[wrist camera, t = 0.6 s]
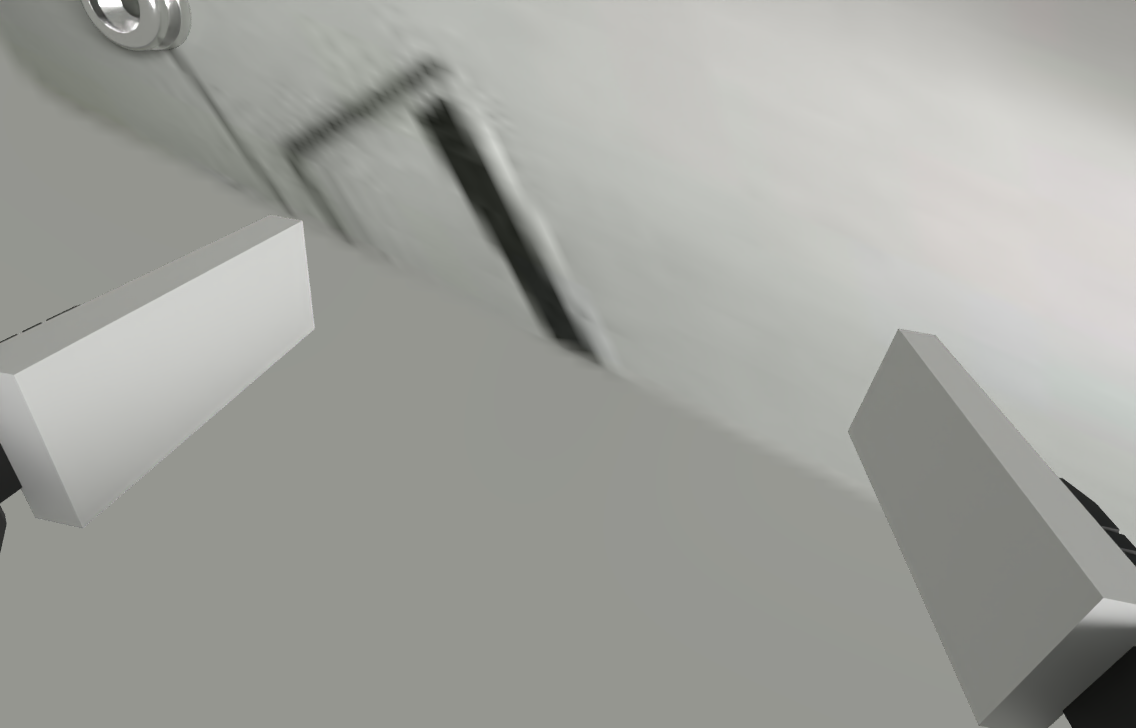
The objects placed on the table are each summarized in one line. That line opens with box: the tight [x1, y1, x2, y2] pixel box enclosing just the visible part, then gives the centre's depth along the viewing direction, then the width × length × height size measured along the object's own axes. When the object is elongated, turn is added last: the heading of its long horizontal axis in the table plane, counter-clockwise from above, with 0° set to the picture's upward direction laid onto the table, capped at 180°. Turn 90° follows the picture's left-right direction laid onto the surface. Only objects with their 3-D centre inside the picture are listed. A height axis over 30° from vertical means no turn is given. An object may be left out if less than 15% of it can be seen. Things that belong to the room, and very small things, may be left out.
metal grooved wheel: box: [81, 0, 191, 51], centre depth 34 cm, size 5×3×5 cm
